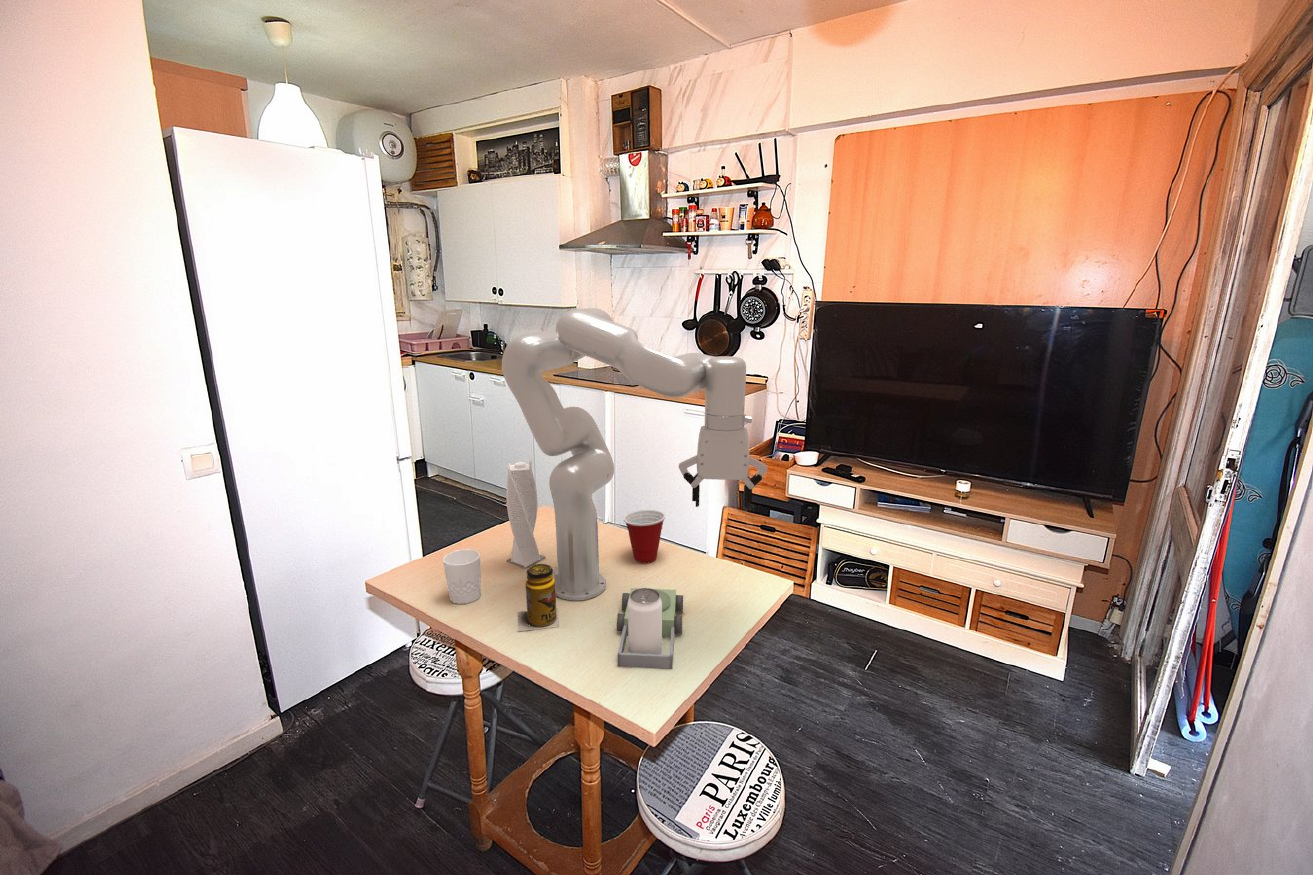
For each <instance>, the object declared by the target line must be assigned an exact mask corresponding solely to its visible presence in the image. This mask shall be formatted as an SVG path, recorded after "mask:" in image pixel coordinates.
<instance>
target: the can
mask: <svg viewBox="0 0 1313 875" xmlns="http://www.w3.org/2000/svg"><path fill="white" fill-rule="evenodd" d="M654 589H655V588H649V587H639V589H636V590H634V591H633V592H632V593H631V594H630V599H629V602H628V636H627V638H628V640H627V641H628V653H640V654H661V653H662V648H663V647H662V644H663V638H662V601H661V599H660V594H659V592H658V591H656V590H654Z"/></svg>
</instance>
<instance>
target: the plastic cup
mask: <svg viewBox="0 0 1313 875" xmlns="http://www.w3.org/2000/svg"><path fill="white" fill-rule="evenodd" d="M665 520H666V513H664V512H663V511H661V510H658V509H640V510H634V511H631V512H628V513H626V514H625V515H624V516H623V522H624V523H625V526H626V528H627V530H628V536H629V541H630V546H631V550H632V554H633V555H632V556H633V560H634V561H636V562H638V563H640V564H650V563H653V562H655V561H656V559H657V558H658V551H659V548H660V540H661V534H662V530H663V524H664V521H665Z"/></svg>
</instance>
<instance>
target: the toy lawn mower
mask: <svg viewBox="0 0 1313 875" xmlns="http://www.w3.org/2000/svg"><path fill="white" fill-rule="evenodd" d="M639 588H640V587H639ZM639 588H638V587H630V591H629V592H622V595H621V610H622V611H625V612H618V613H617V618H616V631H617V632H621V635H620V641H619V646H618V651H617V655H616V656H617V667H629V668H647V669H648V668H652V669H668V670H669V669H670V670H672V669H673V665H674V664H673V663H674V650H675V649H674V648H675V647H674V646H675V635H683V615H678V614H677V613H684V595H683V594H677V590H676V589H671V588H670V589H665V588H661V589H660V588H653V589H654V590H656V591H658V592H659V594H660V599H661V601H662V639H663V638H665V639H667V638H668V639H670V641H669V642H670V643H669V654H661V653H660V654H640V653H630V652H625V647H626V643H627V638H628V602H629V599H630V594H631V593H632V592H633V591H634V590H636V589H639ZM676 614H677V615H676Z"/></svg>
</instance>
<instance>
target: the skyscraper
mask: <svg viewBox="0 0 1313 875" xmlns="http://www.w3.org/2000/svg"><path fill="white" fill-rule="evenodd" d="M532 465H533V462H532V458H531V457H529V459H528V463H526V462H525V461H518V462H515V463H514V464H512V463H510V462H509V463H508V464H507V476H506V477H507V478H506V509H507V514H508V515H507V516H508V522H509V525H510V529H511V532H512V535H513V541H512V548H511V549H512V550H511V557H510V558H507V559H506V563H510V564H512V565H516V566H518V567H521V568H524V569H527V570H528V568H529V567H531V566H532V565H535V564H539V563H540V562H541V561H543V560H545V559H546V556H545V555H543V554H541V553H540V552H539V548H538V545H537V542H536V539H535V536H534V531H535V526H536V522H537V515H538V502H539V501H538V492H537V486H536V482H535V477H534V473H533V470H532Z"/></svg>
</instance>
